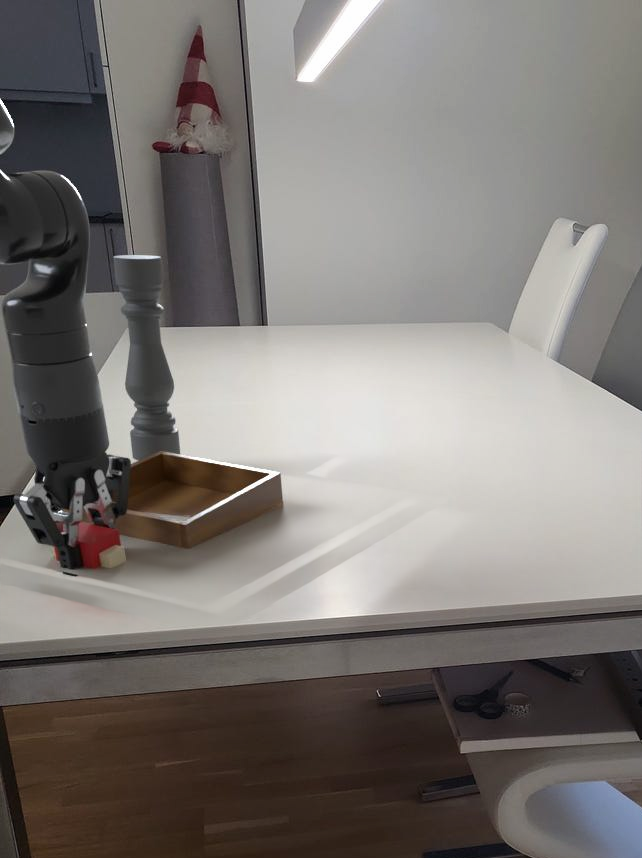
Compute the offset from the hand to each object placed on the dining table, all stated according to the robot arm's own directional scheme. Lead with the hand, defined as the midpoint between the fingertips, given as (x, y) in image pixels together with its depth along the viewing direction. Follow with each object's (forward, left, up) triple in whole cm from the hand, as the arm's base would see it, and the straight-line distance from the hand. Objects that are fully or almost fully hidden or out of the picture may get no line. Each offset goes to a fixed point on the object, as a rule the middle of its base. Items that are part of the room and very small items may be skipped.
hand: (91, 568), depth 106 cm
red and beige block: (0, 0, -1) cm, 1 cm away
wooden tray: (-2, +16, -1) cm, 16 cm away
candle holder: (-18, +32, -1) cm, 37 cm away
